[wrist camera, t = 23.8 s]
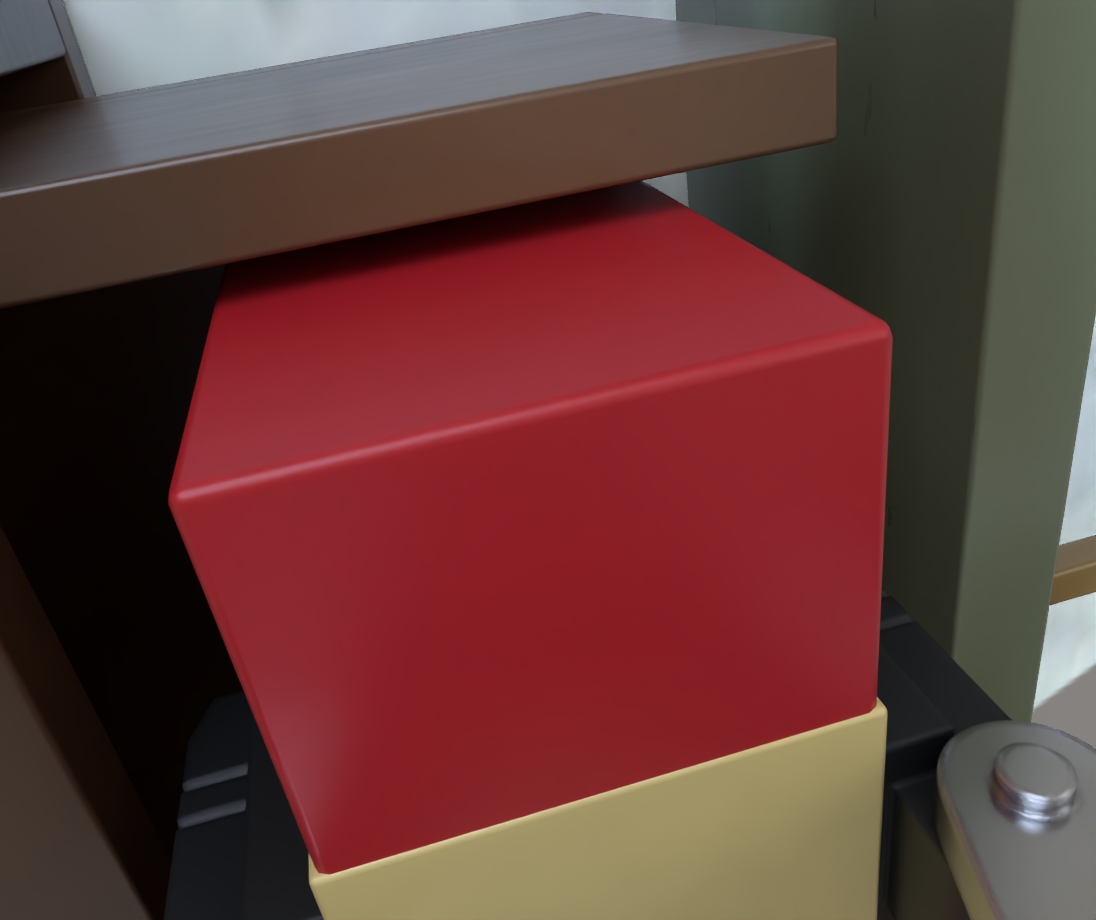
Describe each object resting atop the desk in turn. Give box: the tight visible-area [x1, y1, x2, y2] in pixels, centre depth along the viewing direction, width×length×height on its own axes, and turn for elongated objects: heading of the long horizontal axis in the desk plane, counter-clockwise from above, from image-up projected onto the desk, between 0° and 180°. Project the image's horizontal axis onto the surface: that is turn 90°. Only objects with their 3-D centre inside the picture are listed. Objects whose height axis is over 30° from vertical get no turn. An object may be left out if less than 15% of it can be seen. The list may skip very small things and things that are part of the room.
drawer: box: [0, 0, 1096, 860], centre depth 13 cm, size 20×13×8 cm, turn 98°
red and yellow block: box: [168, 181, 893, 920], centre depth 9 cm, size 4×9×5 cm, turn 8°
